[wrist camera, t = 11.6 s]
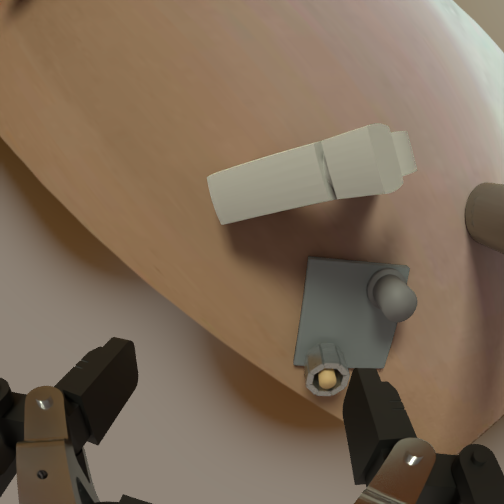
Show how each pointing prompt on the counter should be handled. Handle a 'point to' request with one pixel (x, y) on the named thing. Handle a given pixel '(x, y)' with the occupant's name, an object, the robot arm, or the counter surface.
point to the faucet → (314, 174)
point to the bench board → (352, 311)
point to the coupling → (325, 358)
